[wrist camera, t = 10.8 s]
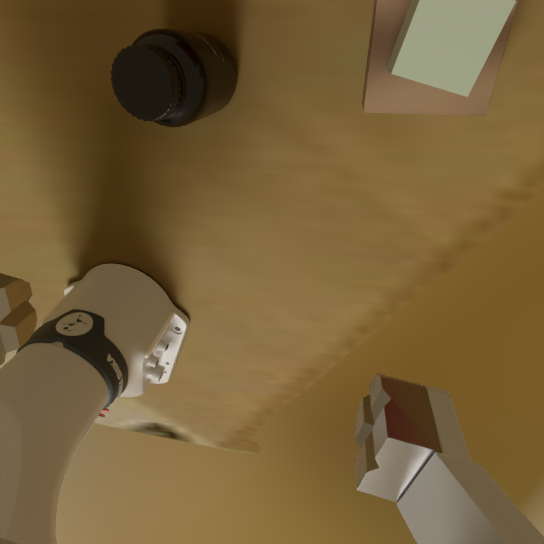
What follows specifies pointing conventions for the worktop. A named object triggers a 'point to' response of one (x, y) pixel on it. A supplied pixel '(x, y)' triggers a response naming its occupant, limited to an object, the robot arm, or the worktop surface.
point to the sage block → (448, 41)
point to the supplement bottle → (173, 77)
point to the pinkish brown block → (414, 95)
